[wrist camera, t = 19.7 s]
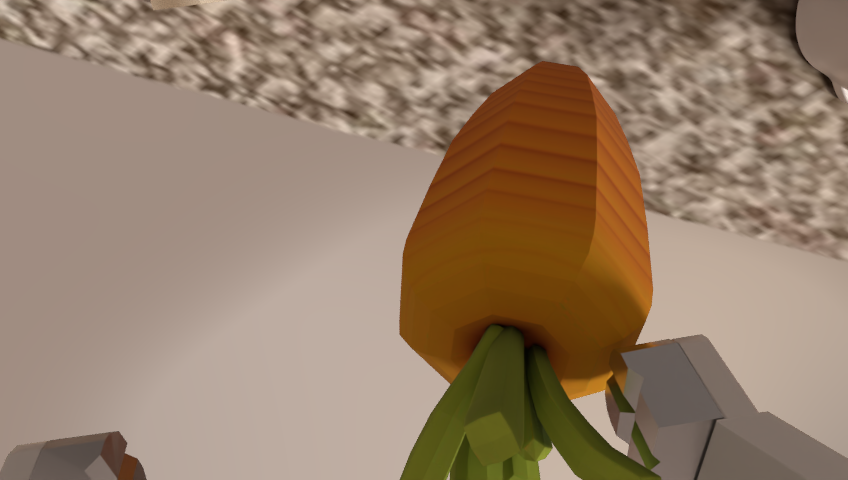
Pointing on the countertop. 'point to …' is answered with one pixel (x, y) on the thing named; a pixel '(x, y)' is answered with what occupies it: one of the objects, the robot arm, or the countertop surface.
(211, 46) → the countertop surface
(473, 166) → the carrot
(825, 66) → the robot arm
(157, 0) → the wooden frame
